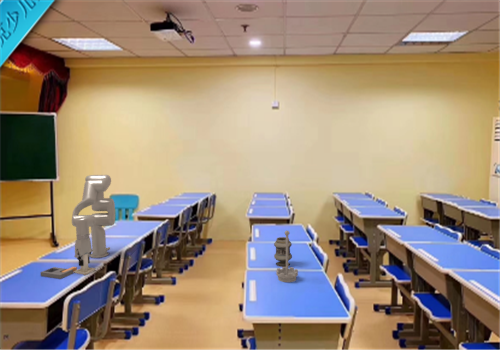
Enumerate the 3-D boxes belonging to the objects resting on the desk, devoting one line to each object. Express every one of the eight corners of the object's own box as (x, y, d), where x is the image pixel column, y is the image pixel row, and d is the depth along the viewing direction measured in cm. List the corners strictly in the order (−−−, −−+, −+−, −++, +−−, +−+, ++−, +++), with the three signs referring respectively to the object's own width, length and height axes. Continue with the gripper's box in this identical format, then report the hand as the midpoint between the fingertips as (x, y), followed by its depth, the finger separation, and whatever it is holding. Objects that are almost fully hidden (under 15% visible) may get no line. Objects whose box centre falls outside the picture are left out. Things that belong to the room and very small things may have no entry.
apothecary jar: (270, 263, 256) (270, 237, 254) (286, 260, 261) (286, 235, 259) (279, 268, 245) (279, 241, 243) (295, 265, 250) (295, 239, 248)
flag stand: (297, 283, 219) (297, 233, 216) (274, 282, 222) (274, 232, 219) (298, 275, 232) (298, 228, 229) (277, 274, 234) (277, 227, 231)
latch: (73, 270, 244) (73, 266, 244) (76, 270, 243) (76, 267, 243) (61, 275, 235) (60, 271, 234) (64, 275, 234) (64, 272, 233)
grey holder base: (54, 271, 243) (53, 267, 243) (73, 274, 238) (73, 269, 237) (40, 276, 233) (40, 272, 233) (60, 279, 228) (60, 275, 228)
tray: (84, 269, 247) (84, 266, 247) (95, 270, 244) (95, 268, 244) (73, 273, 239) (73, 271, 238) (85, 275, 235) (84, 273, 235)
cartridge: (85, 268, 244) (84, 250, 243) (90, 269, 242) (89, 251, 241) (78, 270, 240) (78, 252, 239) (84, 271, 238) (83, 253, 237)
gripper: (88, 233, 248) (89, 259, 250) (67, 239, 233) (69, 268, 234) (97, 234, 246) (98, 261, 248) (77, 240, 230) (78, 269, 232)
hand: (84, 264), depth 241 cm, fingers closed on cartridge, 4 cm apart
